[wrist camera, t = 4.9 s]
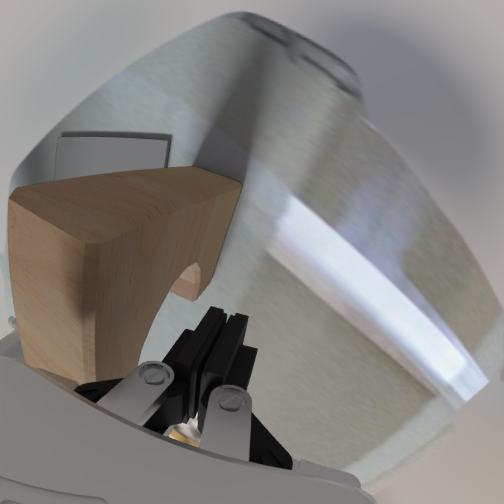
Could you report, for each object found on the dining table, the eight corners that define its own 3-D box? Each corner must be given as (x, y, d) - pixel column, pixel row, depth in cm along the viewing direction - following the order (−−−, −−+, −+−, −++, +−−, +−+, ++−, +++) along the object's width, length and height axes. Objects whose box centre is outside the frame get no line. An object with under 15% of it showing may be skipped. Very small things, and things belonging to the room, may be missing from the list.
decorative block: (210, 284, 30) (97, 430, 11) (163, 263, 30) (24, 373, 11) (246, 184, 26) (100, 238, 7) (192, 164, 26) (5, 184, 7)
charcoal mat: (58, 253, 33) (55, 254, 33) (60, 137, 28) (57, 137, 27) (156, 286, 31) (154, 288, 30) (170, 141, 26) (167, 140, 25)
